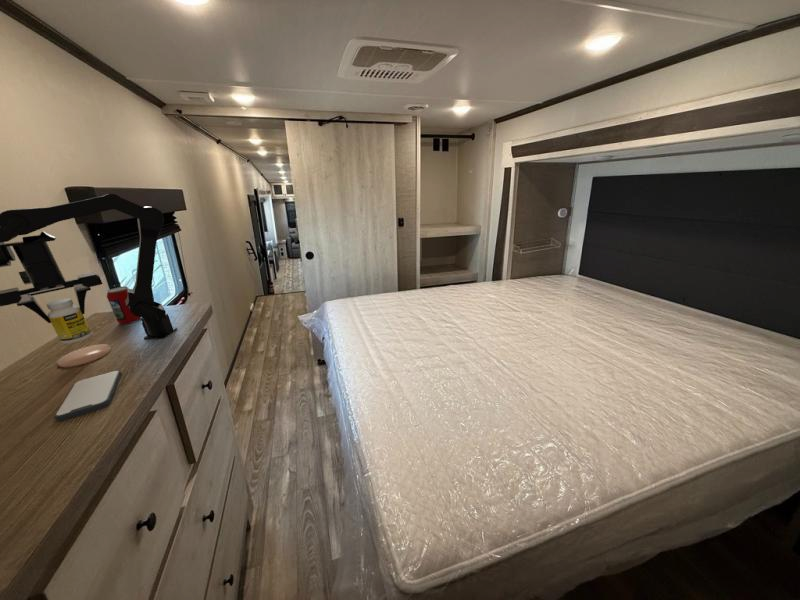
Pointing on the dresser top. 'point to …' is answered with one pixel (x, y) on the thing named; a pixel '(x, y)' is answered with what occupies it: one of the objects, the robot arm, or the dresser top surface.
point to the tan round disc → (84, 355)
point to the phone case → (88, 395)
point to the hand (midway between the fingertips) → (67, 318)
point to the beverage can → (120, 305)
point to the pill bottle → (68, 321)
